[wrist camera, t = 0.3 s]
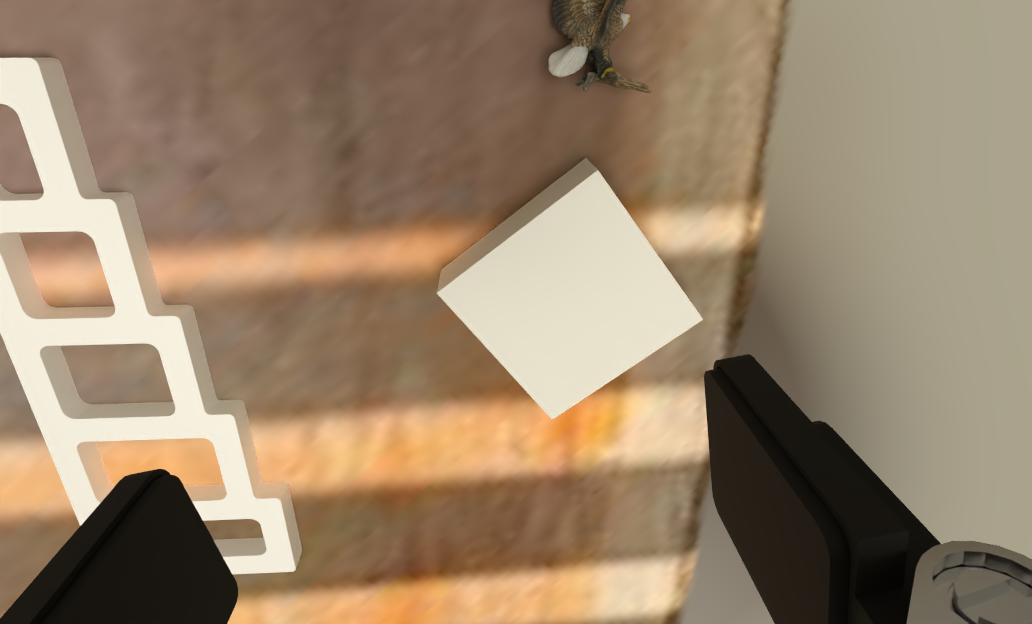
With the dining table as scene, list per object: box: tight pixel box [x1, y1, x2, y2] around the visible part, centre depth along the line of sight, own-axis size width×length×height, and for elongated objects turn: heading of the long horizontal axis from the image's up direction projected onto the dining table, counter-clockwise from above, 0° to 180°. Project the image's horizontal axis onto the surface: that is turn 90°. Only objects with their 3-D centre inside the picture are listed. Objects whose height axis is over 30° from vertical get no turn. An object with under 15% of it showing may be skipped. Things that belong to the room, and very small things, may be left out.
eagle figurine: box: [548, 0, 651, 93], centre depth 36 cm, size 8×7×9 cm
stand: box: [437, 158, 703, 419], centre depth 44 cm, size 14×14×5 cm
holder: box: [0, 58, 302, 574], centre depth 47 cm, size 45×18×3 cm, turn 0°
